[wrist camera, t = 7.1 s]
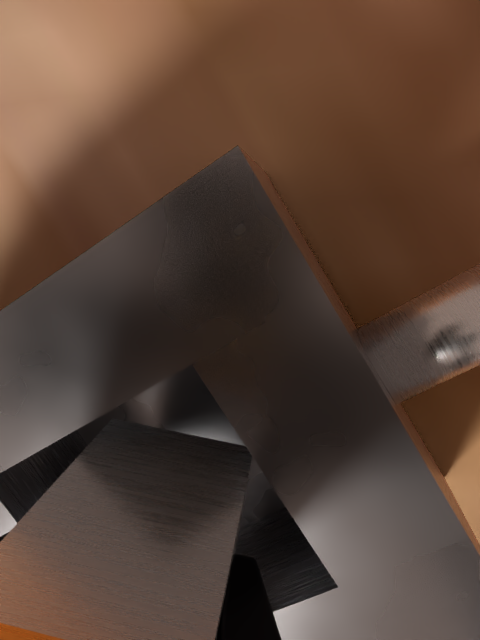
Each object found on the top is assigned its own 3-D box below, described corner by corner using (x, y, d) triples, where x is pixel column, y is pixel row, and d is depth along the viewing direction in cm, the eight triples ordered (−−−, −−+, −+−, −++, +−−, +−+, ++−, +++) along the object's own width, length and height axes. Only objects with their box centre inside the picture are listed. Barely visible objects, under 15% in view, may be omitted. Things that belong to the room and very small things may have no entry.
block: (233, 567, 10) (128, 1103, 4) (103, 537, 10) (-174, 992, 4) (253, 447, 9) (163, 895, 3) (112, 418, 9) (-214, 778, 3)
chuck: (607, 411, 12) (825, 556, 7) (-41, 681, 18) (-169, 858, 13) (431, 61, 10) (547, -71, 5) (-207, 486, 16) (-421, 603, 11)
